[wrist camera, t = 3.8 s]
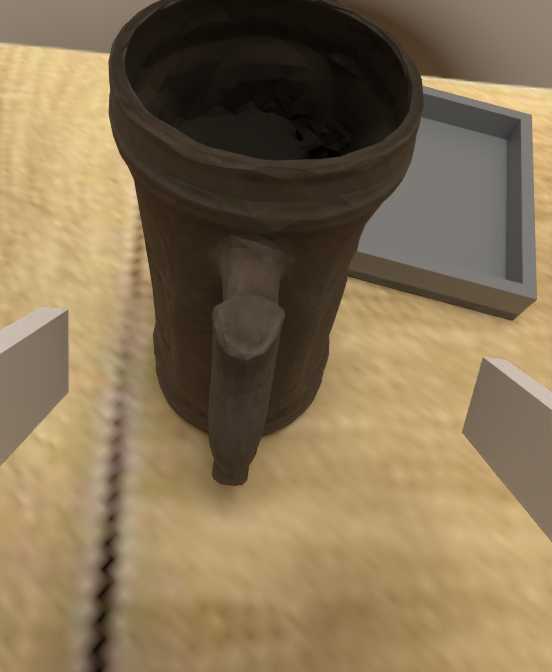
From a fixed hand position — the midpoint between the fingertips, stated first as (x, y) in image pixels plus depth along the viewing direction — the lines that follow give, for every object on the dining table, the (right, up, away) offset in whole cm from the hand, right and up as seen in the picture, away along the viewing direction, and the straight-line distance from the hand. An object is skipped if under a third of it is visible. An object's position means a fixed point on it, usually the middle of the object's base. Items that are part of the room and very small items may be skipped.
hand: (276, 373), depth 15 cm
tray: (+12, +13, +25) cm, 31 cm away
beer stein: (-2, -2, +16) cm, 16 cm away
